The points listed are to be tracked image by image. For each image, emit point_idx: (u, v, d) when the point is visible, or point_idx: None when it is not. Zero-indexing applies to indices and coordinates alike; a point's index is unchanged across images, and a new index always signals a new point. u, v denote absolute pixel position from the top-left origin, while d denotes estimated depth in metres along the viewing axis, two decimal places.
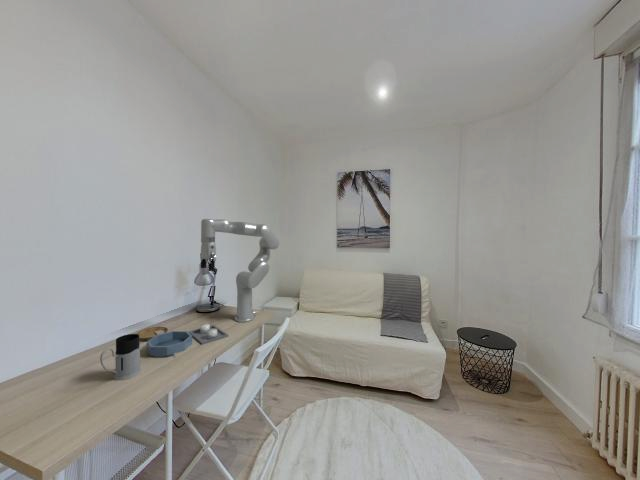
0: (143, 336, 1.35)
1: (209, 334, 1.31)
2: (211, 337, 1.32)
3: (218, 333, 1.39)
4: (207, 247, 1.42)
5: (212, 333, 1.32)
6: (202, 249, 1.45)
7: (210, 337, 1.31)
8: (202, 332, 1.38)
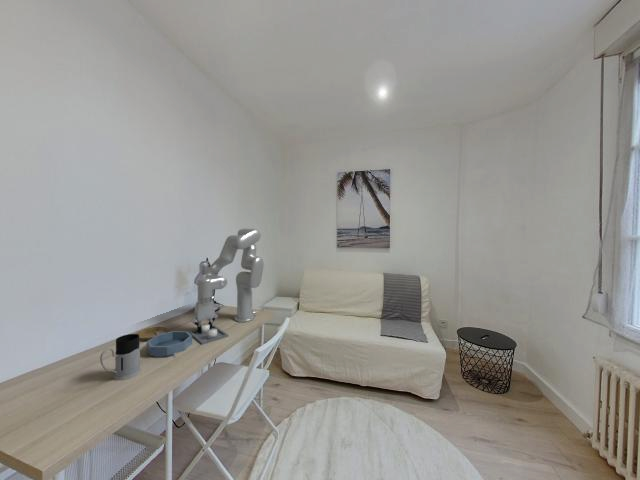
0: (143, 336, 1.35)
1: (209, 334, 1.31)
2: (211, 337, 1.32)
3: (218, 333, 1.39)
4: (213, 306, 1.42)
5: (212, 333, 1.32)
6: (203, 311, 1.38)
7: (210, 337, 1.31)
8: (202, 332, 1.38)
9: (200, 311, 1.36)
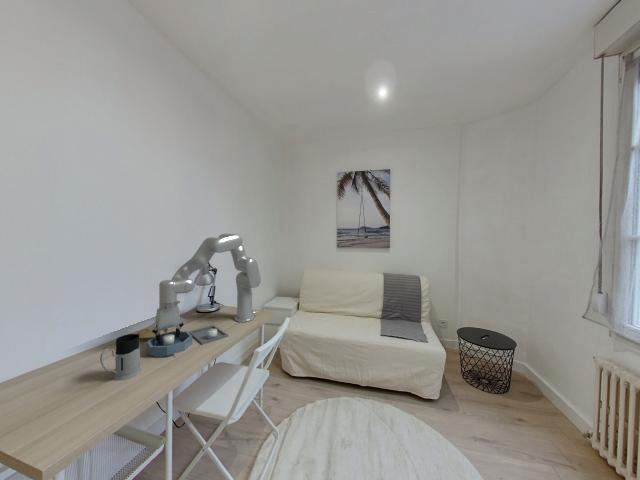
0: (143, 336, 1.35)
1: (209, 334, 1.31)
2: (211, 337, 1.32)
3: (218, 333, 1.39)
4: (177, 312, 1.26)
5: (212, 333, 1.32)
6: (165, 317, 1.22)
7: (210, 337, 1.31)
8: (165, 344, 1.23)
9: (161, 318, 1.21)
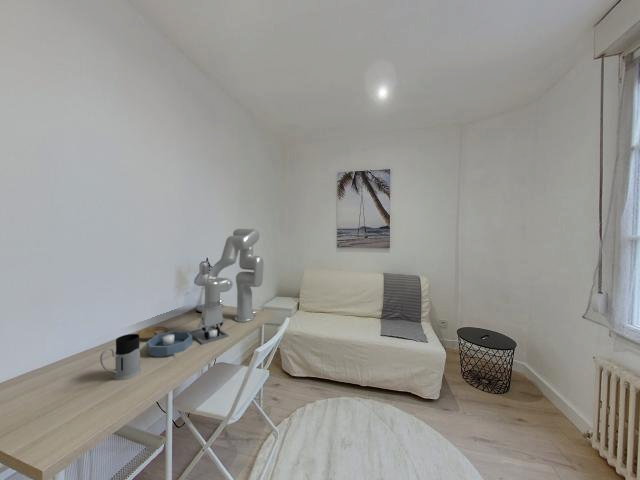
0: (143, 336, 1.35)
1: (209, 334, 1.31)
2: (211, 337, 1.32)
3: None
4: (221, 310, 1.35)
5: (212, 333, 1.32)
6: (211, 315, 1.31)
7: (210, 337, 1.31)
8: (165, 344, 1.23)
9: (207, 316, 1.30)
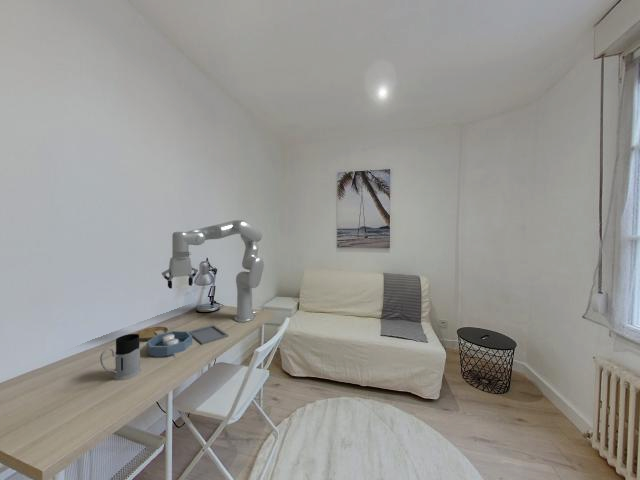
0: (143, 336, 1.35)
1: (168, 345, 1.18)
2: None
3: (218, 333, 1.39)
4: (189, 262, 1.33)
5: (171, 344, 1.18)
6: (178, 266, 1.29)
7: None
8: (165, 344, 1.23)
9: (175, 266, 1.28)
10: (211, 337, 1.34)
